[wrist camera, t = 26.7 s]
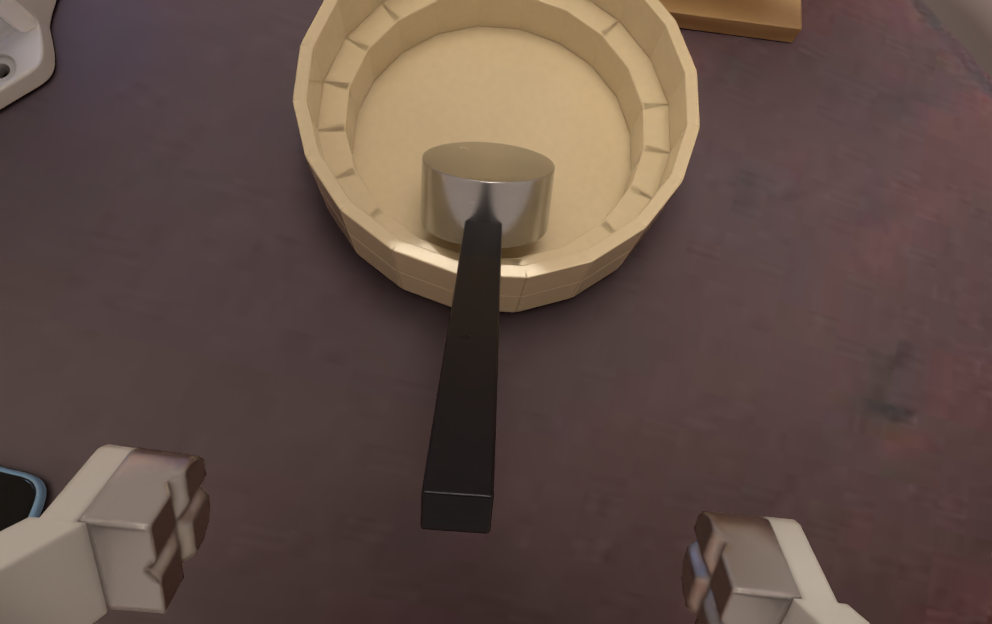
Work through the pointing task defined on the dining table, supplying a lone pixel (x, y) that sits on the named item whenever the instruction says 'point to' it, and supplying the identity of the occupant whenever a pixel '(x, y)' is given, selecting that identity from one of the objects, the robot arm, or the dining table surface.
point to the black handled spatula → (474, 313)
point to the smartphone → (19, 496)
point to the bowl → (498, 126)
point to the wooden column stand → (739, 17)
